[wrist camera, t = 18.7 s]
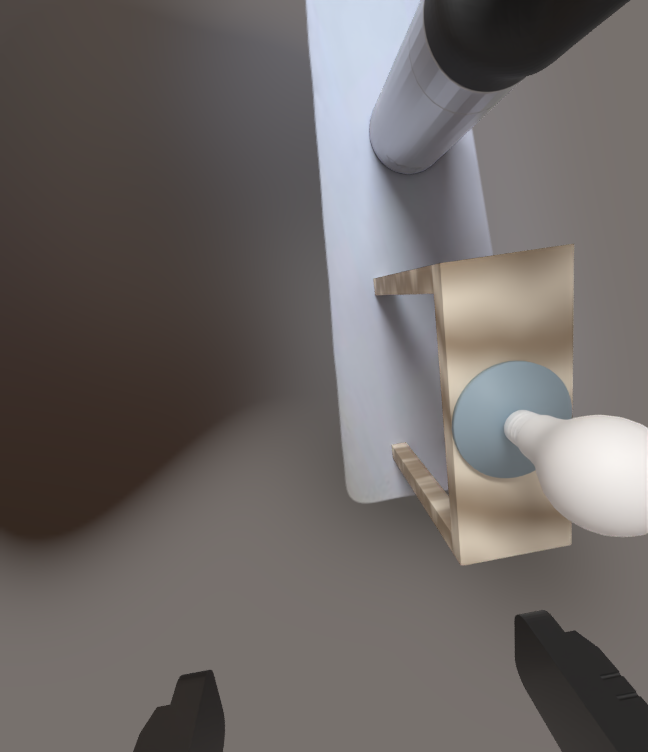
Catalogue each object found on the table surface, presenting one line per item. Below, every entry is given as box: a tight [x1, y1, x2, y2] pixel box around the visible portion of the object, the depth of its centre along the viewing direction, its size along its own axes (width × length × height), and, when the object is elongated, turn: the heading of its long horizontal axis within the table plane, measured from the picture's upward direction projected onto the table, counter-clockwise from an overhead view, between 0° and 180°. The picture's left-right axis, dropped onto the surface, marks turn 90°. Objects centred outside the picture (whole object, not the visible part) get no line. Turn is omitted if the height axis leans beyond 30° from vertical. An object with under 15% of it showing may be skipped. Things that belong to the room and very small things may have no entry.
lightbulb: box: [504, 410, 648, 537], centre depth 21 cm, size 6×6×11 cm
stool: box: [373, 244, 574, 566], centre depth 37 cm, size 24×10×21 cm, turn 8°
